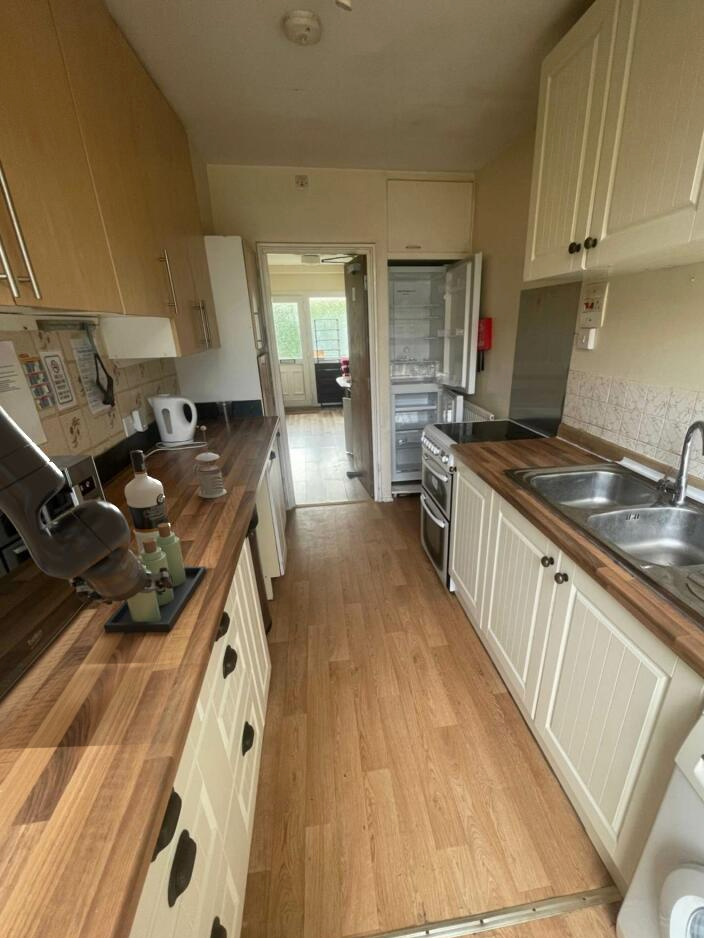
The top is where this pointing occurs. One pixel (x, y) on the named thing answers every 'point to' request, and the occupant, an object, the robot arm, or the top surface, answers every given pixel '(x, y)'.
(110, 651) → the top surface
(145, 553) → the bottle mid
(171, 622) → the tray
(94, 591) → the robot arm
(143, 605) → the bottle loose
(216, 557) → the top surface
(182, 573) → the bottle back
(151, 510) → the vodka
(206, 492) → the french press
